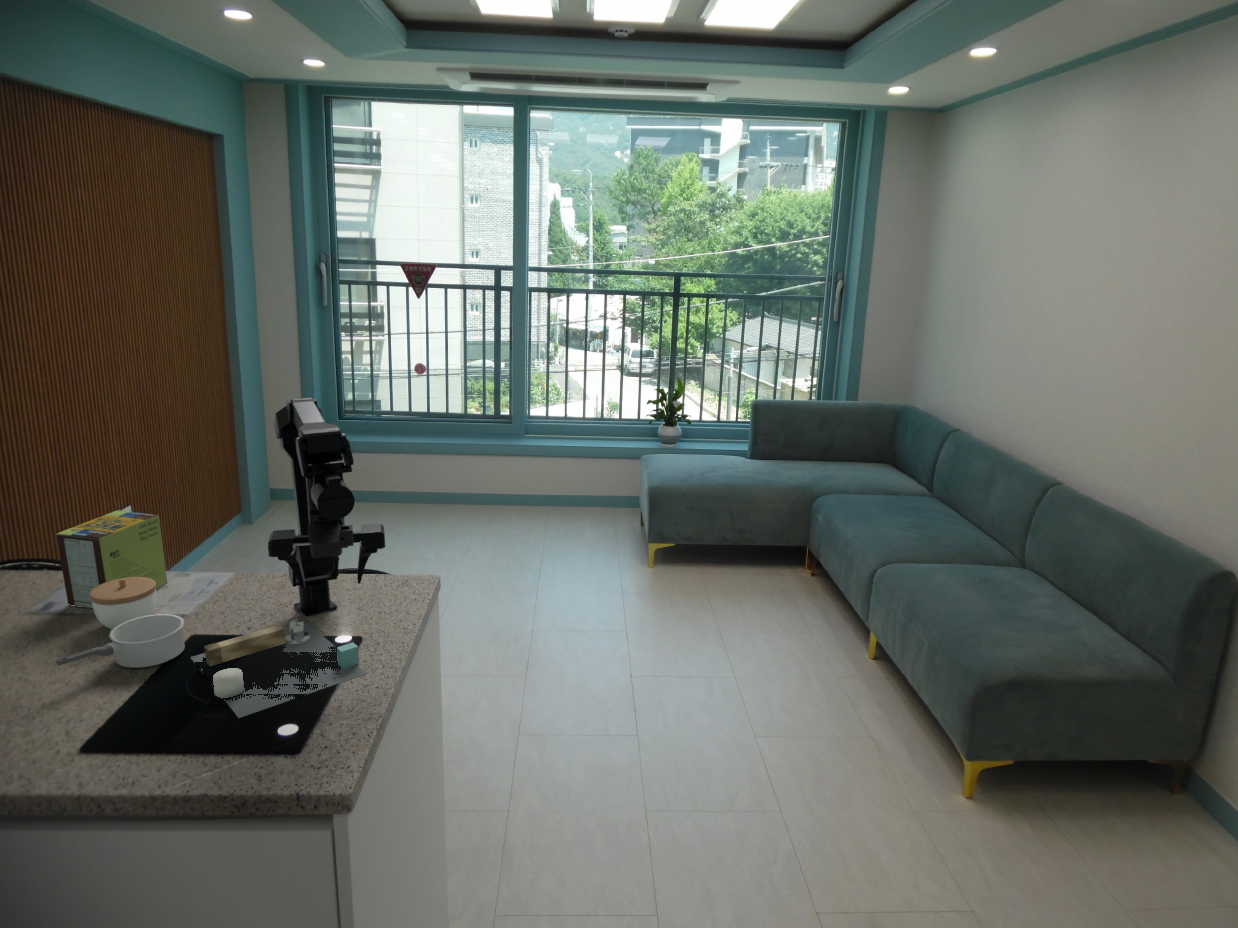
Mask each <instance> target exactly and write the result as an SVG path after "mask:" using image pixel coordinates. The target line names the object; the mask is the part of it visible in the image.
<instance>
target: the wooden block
mask: <svg viewBox="0 0 1238 928" xmlns="http://www.w3.org/2000/svg"><path fill="white" fill-rule="evenodd" d="M285 630H286V629H285V627H283V626H282V625H281V624H278V625H275V626H272V627H268V628H264V629H261V630H257V631H253V632H251V633H248V634H243V635H240V636H236V637H233V638H230V639H226V640H221V641H219V642H214V643H210V644H207V645H204V653H205V657H206V662H207V664H208V665H209V666H210V667H211V666H214V665H217V664H221V663H223V662H227V661H230V660H233V659H236V658H240V657H243V656H246V655H250V654H253V653H256V652H260V651H263V650H266V649H270V648H273V647H276V646H280V645H283V644H286V638H285Z"/></svg>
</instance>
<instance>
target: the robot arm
mask: <svg viewBox="0 0 1238 928" xmlns="http://www.w3.org/2000/svg"><path fill="white" fill-rule="evenodd" d="M318 406H319V405H318V401H317V399H316V398H313V397H302V398H301V397H299V398H298V397H297V398H290V400H287V401H286V405H285V406H284V407H282V408H281V409H279V410H278V411H277V412H275V415H274V416H275V417H274V423H273V424H274V434H275V438H276V440H279V445H280V448H281V449H282V450H283V452H284V453H285V454H286V456H287V457H288V459H290V466H291V468H290V469H291V474H292V475H291V476H292V483H293V484H292V485H293V494H294V501H295V502H294V503H295V512H296V513H295V514H296V522H297V528H298V529H297V530H298V533H297V534H296V529H294V528H293V529H291V528H290V529H282V530H281V529H278V530H273V531H272V532H271V533H270V535H269V539H268V541H267V551H268V557H269V558H277V559H278V561H284V562H286V563H287V564H288V577H289V578H288V579H289V581H290V583H291V586H292V587H297V586H298V597H299V602H296V603H294V604H293V607H294V609H296V610H297V611H298V612H300V613H301V614H302V615H303V616H304V617H311V616H315V615H318V614H321V613H325V612H329V611H331V610H335V609H338V605H337V604H336V603H335V602H334V601H332V600H331V593H330V592H331V591H330V581H332V580H338V577H339V575H340V574H339V573H340V572H339V566H340V565H339V564H340V556H341V555H342V554H343V549H347V548H348V547H352V546H354V543H359V548H358V549H359V550H358V551H359V552H358V560H357V561H358V562H357V572H356V573H357V574H356V575H357V584H361V582H362V578H363V575H364V571H365V568H366V565H367V563H368V560H369V558H370V557H371V555H373V554H376V553H378V551H379V550H383V549H384V548H386V537H385V535H386V534H385V533H386V532H385V526H384V525H383V523H368V524H360V530H359V531H354V529H353V524H347V525H346V523H345V522H346V521H345V517H347V516H348V515H349V514H350V513H351V512H352V511H353V509H354V507H355V501H356V499H355V497H354V496H355V495H354V494H353V492H352V490H351V489H350V488H349V487H348V485H347V484H346V482H345V481H344V475H343V474H347V473H352V472H353V468H352V466H353V465H354V458H353V457H354V455H353V452H352V448H351V444H350V440H349V439H348V438H347V435H346V434H345V433H342V429H340V428H339V426H337V425H336V424H333V423H329V422H327V421H325V418H324V416H323V410H322V409H321V408H320V407H318Z"/></svg>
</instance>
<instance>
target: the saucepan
mask: <svg viewBox="0 0 1238 928" xmlns="http://www.w3.org/2000/svg"><path fill="white" fill-rule="evenodd" d="M184 625H185V620H184V618H182V617H181V616H179V615H176V614H172V613H171V614H169V613H159V614H157V613H156V614H155V613H154V614H153V615H147V616H142V617H138V618H135V619H131V620H129V621H126V622H124V623H122V624H120V625H118V626H116V627H115V628H114V629H112V630H110V632H109V633H108V637H109V639H110V641H112V642H109V643H107V644H104V645H102V646H96V647H93V648H89V649H86V650H83V651H80V652H77V653H74V654H70V655H68V656H65V657H62V658H59V659H56V661H55V662H56V665H57V666H62V665H66V664H69V663H72V662H75V661H78V660H82V659H84V658H87V657H91V656H102V657H109V656H112V655H114V660H115V662H116V663H117V665H119V666H121V667H125V668H148V667H153V666H158V665H161V664H163V663H167V662H168V661H171V660H173V659H175V658H176V657H178V656H179V655H180V654H182V652H184V650H185V648H186V645H185V638H184V630H183V626H184Z"/></svg>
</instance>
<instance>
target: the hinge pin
mask: <svg viewBox="0 0 1238 928" xmlns="http://www.w3.org/2000/svg"><path fill="white" fill-rule="evenodd" d="M303 624H304V620H303V619H298V618H297V619H292V620H290V621H289V622H288V627H289V628H290V635H288V636H286V637H285V638H286V643H289V644H299V643H303V642H306V641H307V640H309V639H310V634H309V633H306V632H304V626H303Z"/></svg>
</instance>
